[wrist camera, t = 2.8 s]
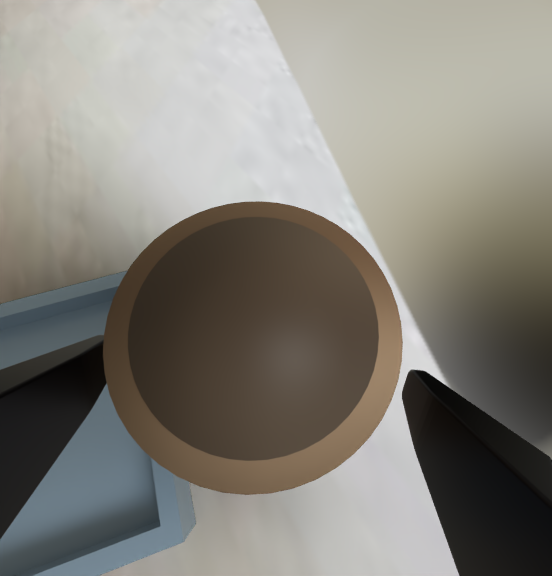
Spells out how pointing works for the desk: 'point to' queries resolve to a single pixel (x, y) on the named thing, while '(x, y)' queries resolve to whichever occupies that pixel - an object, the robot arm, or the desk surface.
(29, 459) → the robot arm
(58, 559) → the desk tray
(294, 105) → the desk surface
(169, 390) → the cup
